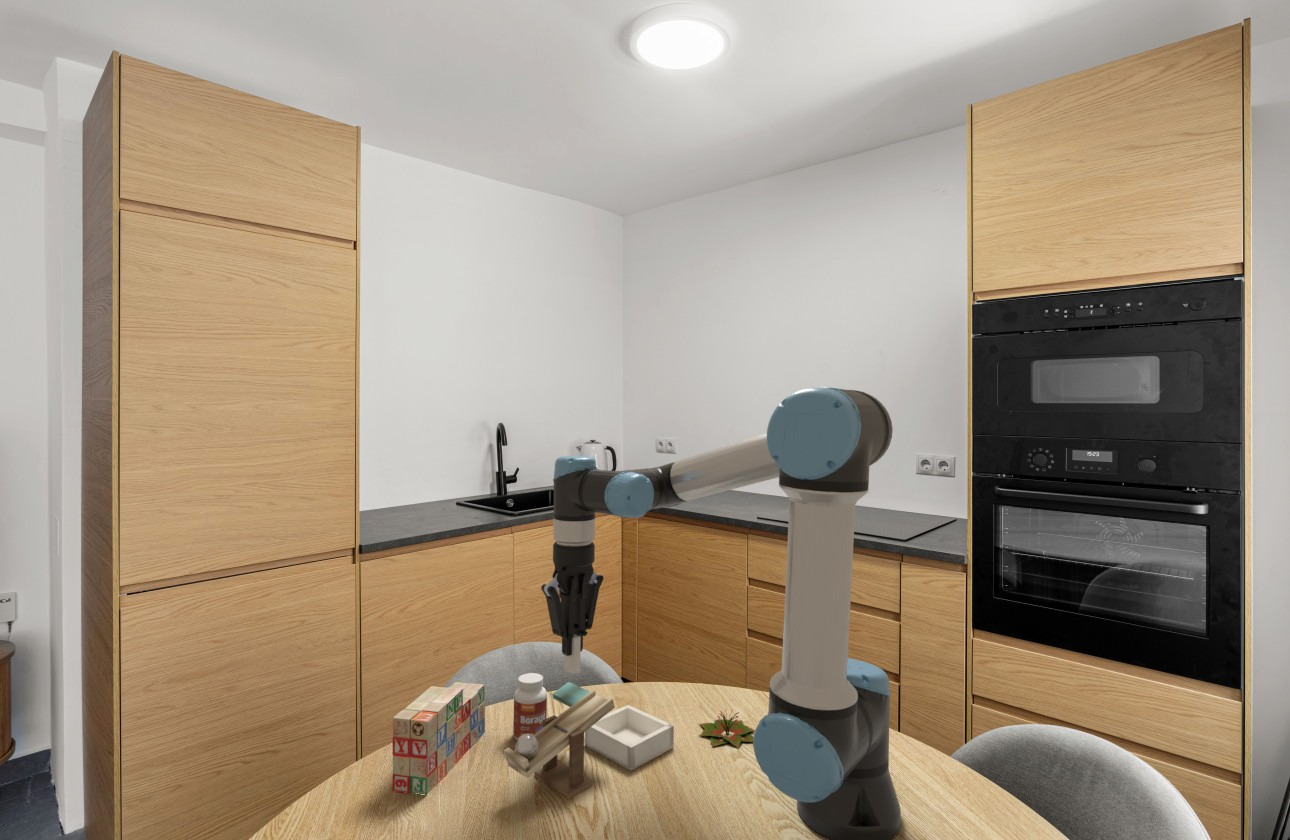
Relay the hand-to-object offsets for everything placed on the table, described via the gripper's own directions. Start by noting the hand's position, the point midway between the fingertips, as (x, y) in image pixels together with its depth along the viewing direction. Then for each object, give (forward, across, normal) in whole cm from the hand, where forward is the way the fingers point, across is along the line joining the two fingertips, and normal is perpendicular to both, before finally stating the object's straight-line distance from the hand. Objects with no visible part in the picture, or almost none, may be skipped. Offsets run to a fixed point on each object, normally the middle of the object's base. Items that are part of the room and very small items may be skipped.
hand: (572, 670), depth 117 cm
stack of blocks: (+15, +18, -13) cm, 27 cm away
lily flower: (+15, -25, +17) cm, 33 cm away
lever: (+7, +7, +3) cm, 11 cm away
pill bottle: (+15, +2, -9) cm, 17 cm away
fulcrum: (+14, +8, +7) cm, 17 cm away
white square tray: (+14, -8, +7) cm, 18 cm away
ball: (+6, +15, +7) cm, 17 cm away
